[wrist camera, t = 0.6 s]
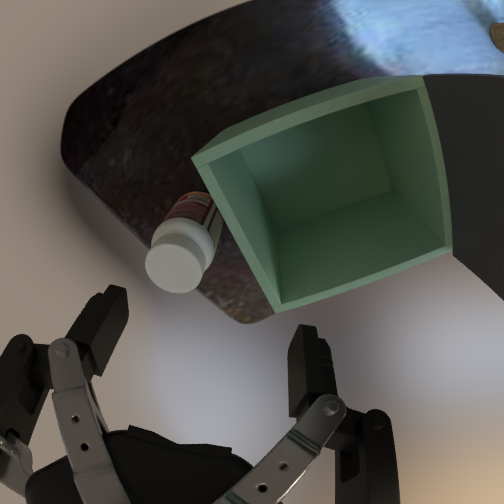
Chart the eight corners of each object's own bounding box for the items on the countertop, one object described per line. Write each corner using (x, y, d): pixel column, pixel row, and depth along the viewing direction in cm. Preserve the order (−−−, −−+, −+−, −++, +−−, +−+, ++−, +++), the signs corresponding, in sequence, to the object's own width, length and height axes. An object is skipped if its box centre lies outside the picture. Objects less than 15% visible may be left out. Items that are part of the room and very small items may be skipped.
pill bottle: (164, 210, 33) (125, 262, 24) (201, 179, 31) (170, 223, 21) (198, 246, 35) (173, 307, 26) (236, 219, 33) (222, 277, 24)
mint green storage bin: (274, 235, 34) (275, 314, 23) (223, 129, 28) (190, 157, 17) (396, 191, 30) (453, 250, 19) (360, 78, 24) (422, 74, 13)
